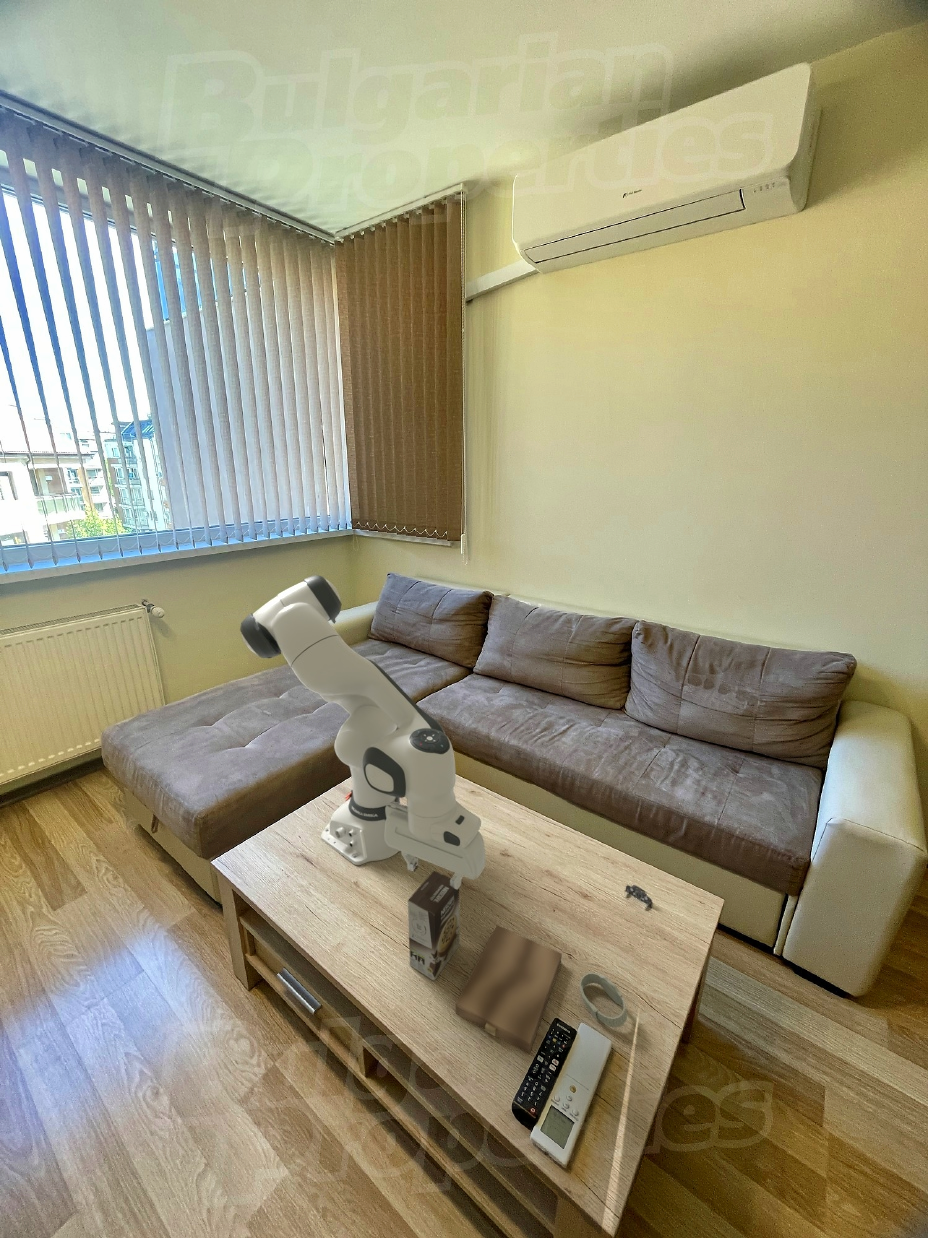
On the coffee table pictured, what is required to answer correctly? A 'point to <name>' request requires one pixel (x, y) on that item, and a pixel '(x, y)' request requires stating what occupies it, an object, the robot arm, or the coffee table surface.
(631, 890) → the dark grey irregular piece
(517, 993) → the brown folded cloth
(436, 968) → the coffee box
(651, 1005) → the coffee table surface
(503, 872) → the coffee table surface
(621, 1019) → the grey oval ring piece
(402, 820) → the robot arm
